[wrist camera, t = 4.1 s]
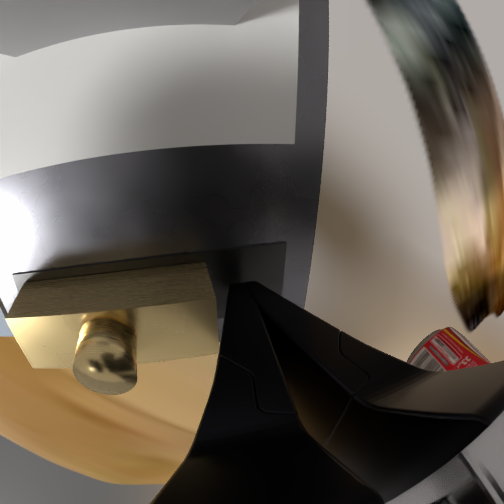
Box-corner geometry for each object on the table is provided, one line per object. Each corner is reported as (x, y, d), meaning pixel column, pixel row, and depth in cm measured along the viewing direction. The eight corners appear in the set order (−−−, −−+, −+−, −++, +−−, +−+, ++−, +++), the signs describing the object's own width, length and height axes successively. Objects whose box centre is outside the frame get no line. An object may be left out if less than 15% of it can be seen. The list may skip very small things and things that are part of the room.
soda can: (433, 361, 26) (494, 434, 16) (388, 384, 24) (451, 473, 14) (459, 312, 22) (536, 389, 12) (414, 333, 21) (501, 434, 11)
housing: (275, 284, 14) (301, 327, 11) (48, 311, 11) (31, 359, 8) (288, -59, 6) (323, -91, 4) (21, -36, 3) (-8, -61, 1)
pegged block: (208, 313, 10) (229, 385, 7) (45, 330, 8) (25, 398, 5) (205, 261, 9) (226, 331, 6) (24, 282, 7) (-10, 349, 4)
